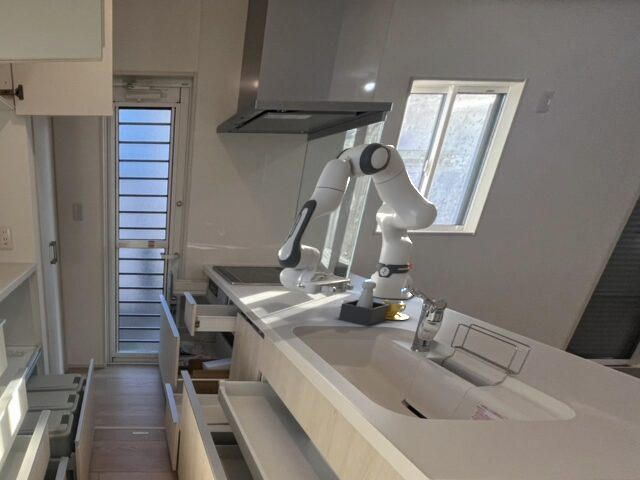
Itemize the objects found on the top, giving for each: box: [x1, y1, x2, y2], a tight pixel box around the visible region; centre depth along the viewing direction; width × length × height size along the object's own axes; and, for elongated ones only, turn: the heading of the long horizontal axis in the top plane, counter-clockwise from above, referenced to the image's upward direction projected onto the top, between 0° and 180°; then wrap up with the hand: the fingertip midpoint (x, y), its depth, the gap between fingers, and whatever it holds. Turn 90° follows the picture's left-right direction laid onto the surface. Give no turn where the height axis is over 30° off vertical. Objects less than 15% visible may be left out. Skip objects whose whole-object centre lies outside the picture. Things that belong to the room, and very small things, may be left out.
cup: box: [382, 299, 410, 321], centre depth 151 cm, size 12×12×5 cm
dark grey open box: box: [338, 299, 389, 327], centre depth 148 cm, size 11×11×6 cm
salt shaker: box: [356, 280, 376, 309], centre depth 146 cm, size 6×6×13 cm
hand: (343, 289), depth 153 cm, fingers open, 8 cm apart
